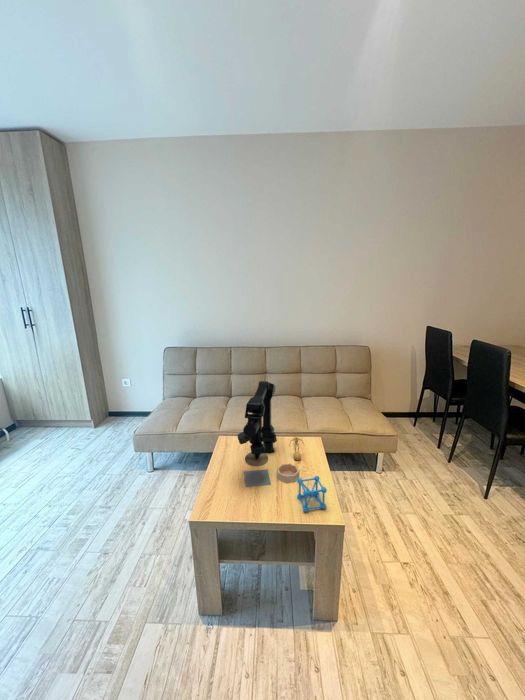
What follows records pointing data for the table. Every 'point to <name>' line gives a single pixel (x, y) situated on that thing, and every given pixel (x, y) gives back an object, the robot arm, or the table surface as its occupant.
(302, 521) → the table surface
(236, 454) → the table surface
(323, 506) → the molecular structure
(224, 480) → the table surface
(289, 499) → the table surface
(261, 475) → the mat
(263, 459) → the lid
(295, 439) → the figurine
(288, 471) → the bowl
